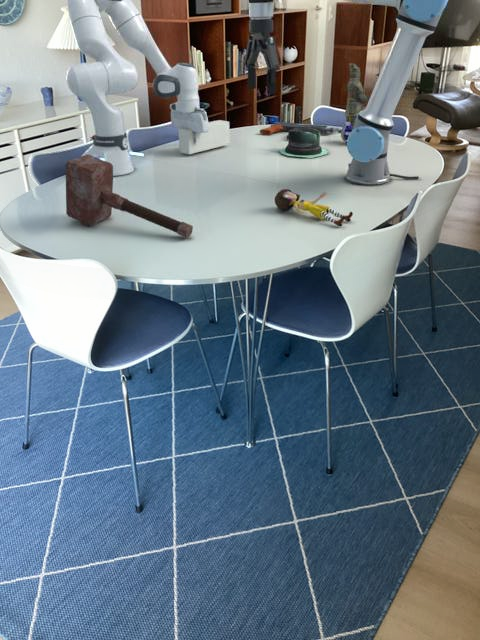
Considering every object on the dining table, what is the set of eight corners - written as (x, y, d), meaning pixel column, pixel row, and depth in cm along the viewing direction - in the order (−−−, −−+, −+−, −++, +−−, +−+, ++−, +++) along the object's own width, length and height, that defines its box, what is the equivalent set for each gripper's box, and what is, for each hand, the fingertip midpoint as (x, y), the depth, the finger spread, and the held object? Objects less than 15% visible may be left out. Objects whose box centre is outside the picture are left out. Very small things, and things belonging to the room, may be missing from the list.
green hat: (332, 145, 241) (326, 158, 224) (294, 164, 249) (286, 177, 233) (317, 113, 235) (310, 124, 219) (279, 133, 244) (269, 145, 228)
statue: (367, 132, 266) (374, 63, 251) (349, 133, 264) (355, 64, 249) (357, 127, 275) (362, 61, 260) (339, 129, 273) (344, 62, 258)
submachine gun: (253, 131, 261) (276, 121, 280) (253, 137, 263) (276, 126, 281) (316, 137, 247) (336, 126, 266) (315, 143, 249) (335, 132, 267)
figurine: (337, 215, 154) (266, 188, 166) (332, 239, 158) (263, 212, 171) (360, 203, 163) (291, 178, 175) (355, 226, 167) (288, 200, 179)
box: (189, 154, 232) (187, 130, 227) (179, 151, 236) (178, 128, 231) (229, 144, 247) (229, 121, 242) (220, 142, 250) (219, 119, 245)
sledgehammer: (202, 197, 152) (86, 152, 164) (183, 208, 145) (63, 160, 156) (194, 252, 162) (86, 206, 174) (176, 265, 155) (64, 216, 166)
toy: (345, 120, 249) (377, 123, 242) (343, 139, 253) (375, 143, 246) (337, 123, 243) (369, 127, 236) (336, 143, 247) (367, 147, 240)
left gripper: (211, 108, 223) (213, 143, 230) (178, 102, 235) (181, 136, 242) (199, 110, 219) (201, 146, 226) (167, 104, 231) (169, 138, 238)
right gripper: (291, 19, 165) (290, 95, 176) (253, 17, 184) (254, 85, 195) (269, 20, 162) (269, 97, 173) (233, 18, 182) (234, 87, 192)
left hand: (190, 140), depth 234 cm, fingers closed on box, 6 cm apart
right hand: (261, 91), depth 184 cm, fingers open, 13 cm apart
